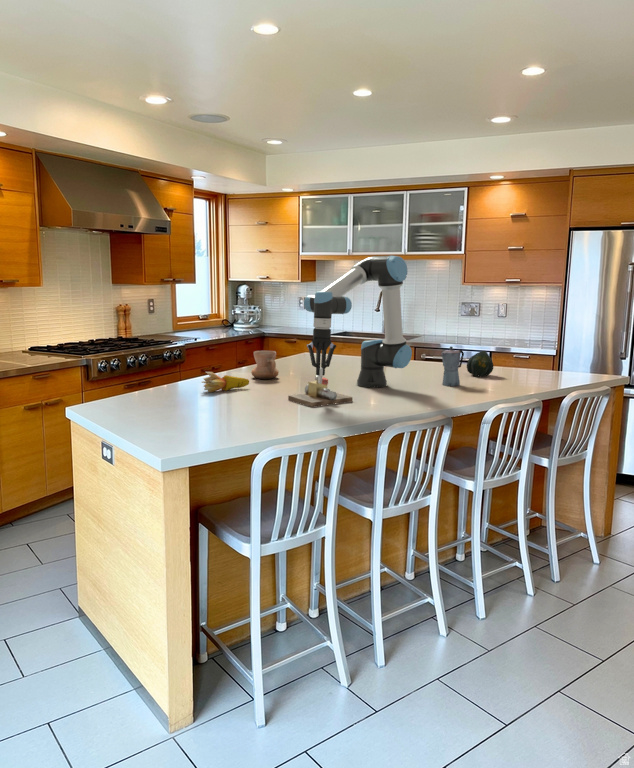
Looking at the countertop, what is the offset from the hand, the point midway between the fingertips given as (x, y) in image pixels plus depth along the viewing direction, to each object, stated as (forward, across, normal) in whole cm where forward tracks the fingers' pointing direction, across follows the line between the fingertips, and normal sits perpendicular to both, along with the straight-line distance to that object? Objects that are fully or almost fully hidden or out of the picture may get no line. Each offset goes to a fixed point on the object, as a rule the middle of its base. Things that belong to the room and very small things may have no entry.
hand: (319, 383), depth 266 cm
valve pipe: (+8, +2, +6) cm, 10 cm away
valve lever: (0, +2, +3) cm, 3 cm away
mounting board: (+9, +2, +6) cm, 11 cm away
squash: (+6, +111, +55) cm, 124 cm away
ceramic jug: (+9, -9, +70) cm, 71 cm away
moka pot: (+7, +80, +31) cm, 87 cm away
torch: (+10, -35, +39) cm, 53 cm away
